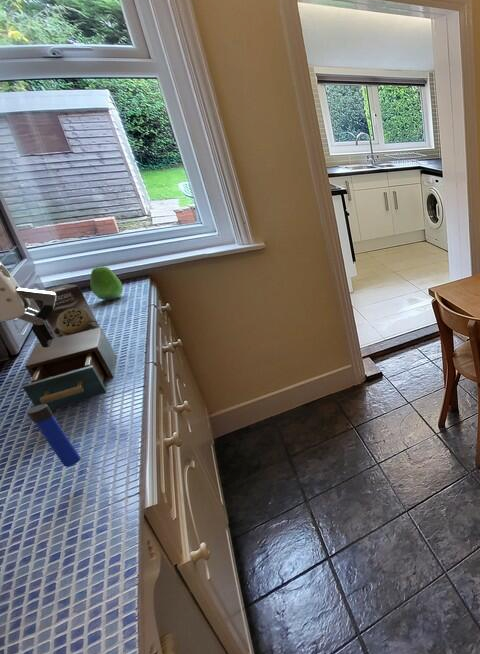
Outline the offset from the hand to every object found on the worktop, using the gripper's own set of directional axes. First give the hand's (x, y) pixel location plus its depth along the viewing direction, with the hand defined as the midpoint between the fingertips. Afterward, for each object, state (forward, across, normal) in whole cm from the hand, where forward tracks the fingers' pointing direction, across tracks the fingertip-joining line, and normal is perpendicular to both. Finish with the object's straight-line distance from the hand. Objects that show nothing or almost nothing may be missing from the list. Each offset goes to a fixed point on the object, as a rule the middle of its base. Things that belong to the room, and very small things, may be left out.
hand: (6, 354), depth 67 cm
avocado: (+22, -1, -96) cm, 99 cm away
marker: (+21, -1, +4) cm, 21 cm away
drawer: (+20, +1, -22) cm, 30 cm away
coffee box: (+22, +4, -58) cm, 62 cm away
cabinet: (+21, +1, -34) cm, 40 cm away
